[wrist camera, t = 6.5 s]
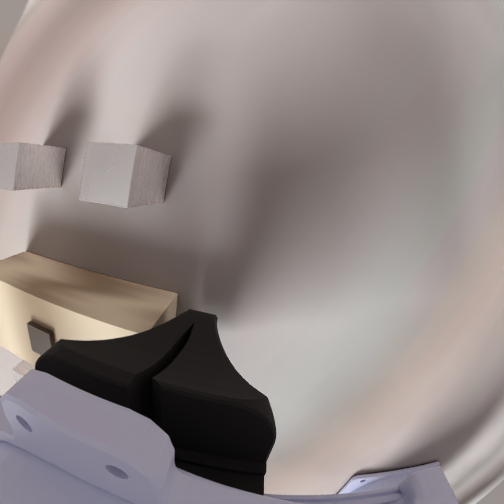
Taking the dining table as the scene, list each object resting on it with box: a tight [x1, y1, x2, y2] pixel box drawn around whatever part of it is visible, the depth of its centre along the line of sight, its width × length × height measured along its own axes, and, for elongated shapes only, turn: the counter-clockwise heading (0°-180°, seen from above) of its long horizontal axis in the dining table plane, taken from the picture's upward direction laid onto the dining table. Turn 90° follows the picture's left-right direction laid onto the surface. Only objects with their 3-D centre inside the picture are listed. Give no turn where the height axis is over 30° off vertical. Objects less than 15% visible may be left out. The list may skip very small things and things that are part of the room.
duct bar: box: [0, 251, 178, 366], centre depth 11 cm, size 10×4×4 cm, turn 79°
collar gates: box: [0, 142, 171, 382], centre depth 11 cm, size 8×14×4 cm, turn 169°
